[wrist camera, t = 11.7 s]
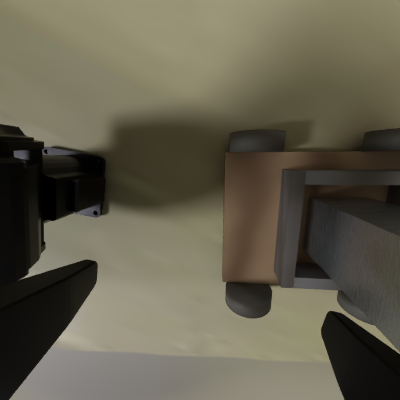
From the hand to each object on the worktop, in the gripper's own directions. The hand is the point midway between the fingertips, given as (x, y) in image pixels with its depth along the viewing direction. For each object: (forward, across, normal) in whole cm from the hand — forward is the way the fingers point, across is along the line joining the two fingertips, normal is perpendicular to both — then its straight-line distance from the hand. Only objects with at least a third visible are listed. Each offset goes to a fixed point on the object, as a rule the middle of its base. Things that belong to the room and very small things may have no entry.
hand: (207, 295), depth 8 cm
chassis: (+13, -9, -1) cm, 16 cm away
